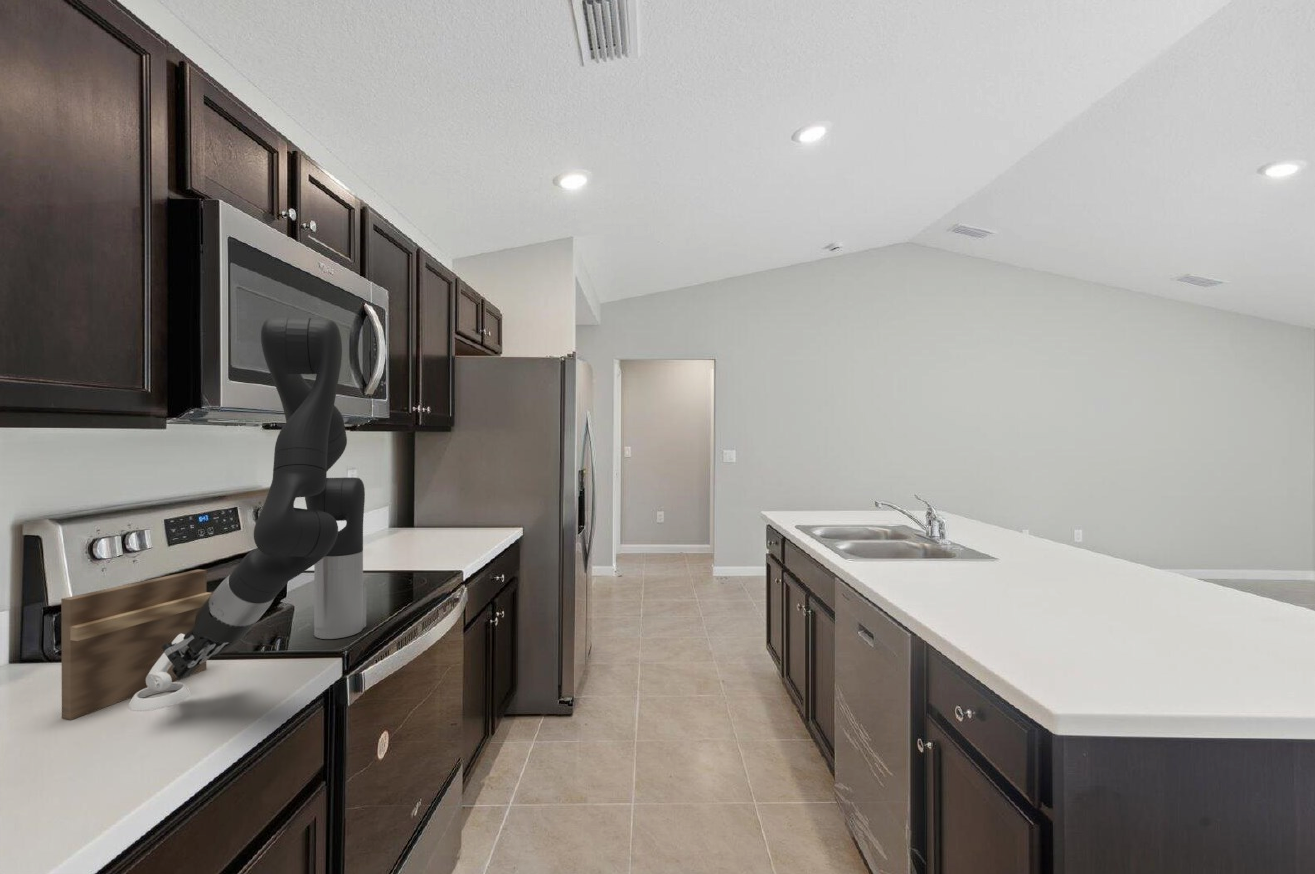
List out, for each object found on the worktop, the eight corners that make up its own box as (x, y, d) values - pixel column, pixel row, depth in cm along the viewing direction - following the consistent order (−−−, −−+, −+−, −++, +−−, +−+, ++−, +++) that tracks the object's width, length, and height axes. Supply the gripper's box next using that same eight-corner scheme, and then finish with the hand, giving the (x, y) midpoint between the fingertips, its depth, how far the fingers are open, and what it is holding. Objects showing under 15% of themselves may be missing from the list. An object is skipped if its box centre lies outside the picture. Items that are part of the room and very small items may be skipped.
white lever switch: (232, 654, 102) (201, 643, 96) (180, 726, 96) (144, 719, 90) (202, 639, 104) (170, 628, 99) (150, 709, 99) (112, 701, 93)
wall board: (198, 667, 109) (198, 569, 109) (212, 670, 108) (212, 570, 108) (61, 718, 90) (61, 598, 89) (77, 721, 89) (77, 600, 88)
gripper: (264, 575, 98) (209, 641, 102) (179, 596, 85) (120, 671, 89) (289, 610, 97) (233, 676, 100) (206, 637, 84) (145, 711, 88)
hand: (180, 674), depth 95 cm, fingers closed
